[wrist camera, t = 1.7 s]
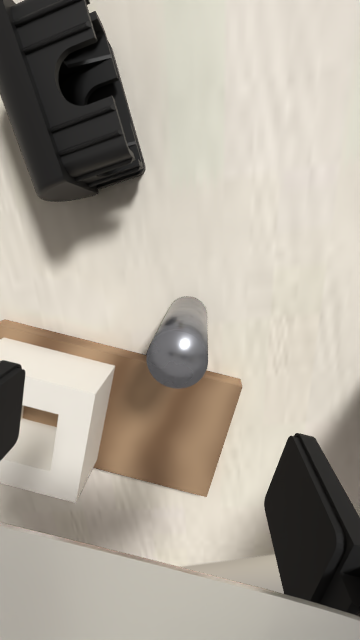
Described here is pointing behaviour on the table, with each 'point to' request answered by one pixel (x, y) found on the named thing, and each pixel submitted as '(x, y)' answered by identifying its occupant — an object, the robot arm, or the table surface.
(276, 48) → the table surface
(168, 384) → the peg
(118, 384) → the board
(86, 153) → the end cap
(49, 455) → the socket
